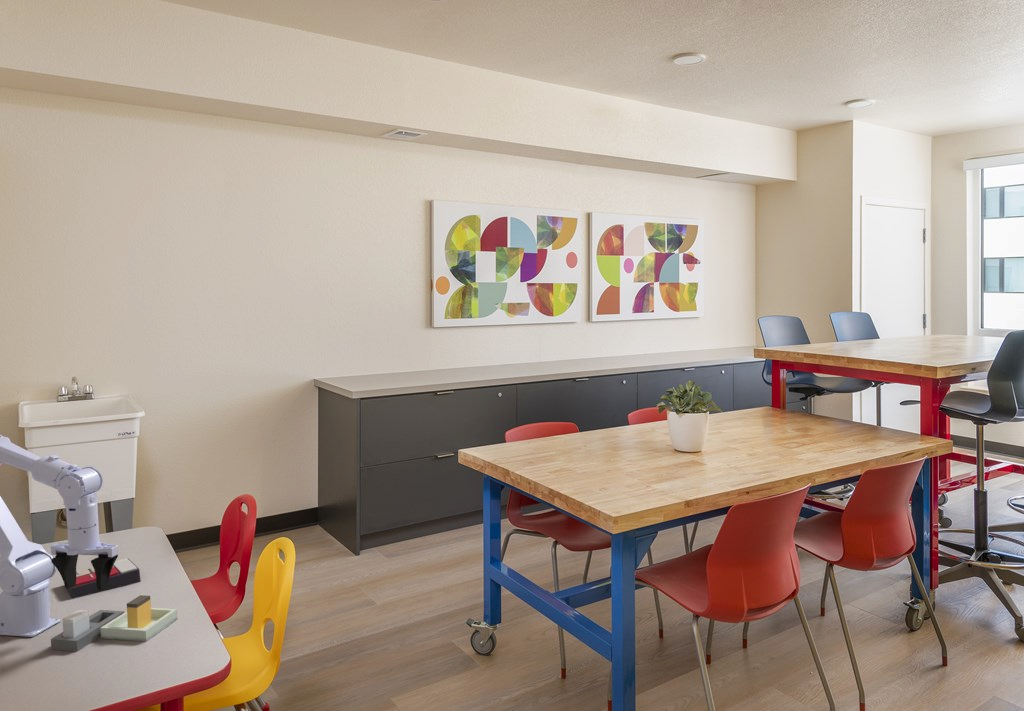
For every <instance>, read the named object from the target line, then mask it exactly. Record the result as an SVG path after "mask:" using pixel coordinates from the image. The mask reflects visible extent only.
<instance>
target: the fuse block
mask: <svg viewBox="0 0 1024 711" xmlns="http://www.w3.org/2000/svg"><path fill="white" fill-rule="evenodd" d="M123 613H125V611H123V610H111V609H110V610H108V609H107V610H106V609H99V610H98V611H96V612H94V613H92V614H91V615H89V624H90V629H88V630H86V631H85V632H83V633H82V634H80V635H78V636H77V637H75V638H65V637H63V631H62V632H59V634H57V635H55V636H53V637H52V638H50V648H51V650H52V651H53V650H54V651H68V652H69V651H70V652H79V651H80V650H82V649H84V648H85V647H86V646H88V645H90V644H91V643H92V642H94V641H96V640H98V639H99V638H101V632H100V628H101V627H102V626H104V625H106V624H107V623H109V622H110V621H112V620H114V619H115V618H117V617H118V616H120V615H122V614H123Z"/></svg>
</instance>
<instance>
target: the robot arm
mask: <svg viewBox="0 0 1024 711" xmlns="http://www.w3.org/2000/svg"><path fill="white" fill-rule="evenodd" d="M2 464H5V465H8V466H12V467H15V468H17V469H20V470H23V471H26V472H29V473H31V478H32V479H33V480H34V481H36V482H38V483H41V484H42V485H45V486H48V487H51V488H52V489H54V490H57V492H58V493H59V496H60V497H61V498H62V500H63V506H64V508H65V510H66V511H65V512H66V526H67V529H66V530H67V542H57V543H54V544H52V545H50V552H47V551H46V550H45V548H44V547H43V545H42V544H40V543H35V542H32V541H29V540H28V539H27V537H26V535H25V534H24V532H23V530H22V529H21V527H20V526H19V524H18V522H17V521H16V519H15V517H14V516H13V514H12V513H11V511H10V509H9V508H8V506H7V504H6V503H5V501H4V499H3V497H1V495H0V589H1V590H2V591H1V593H0V636H13V637H29V638H32V637H33V638H34V637H35V636H37V635H38V634H40V633H42V632H44V631H45V630H47V629H49V628H51V627H53V626H55V625H56V624H58V623H60V622H62V620H61V618H53V617H52V616H51V602H50V600H51V599H50V585H49V584H51V583H52V577H54V576H55V574H56V572H57V571H58V573H59V575H60V576H61V579H62V581H63V585H64V584H65V586H64V587H65V589H66V588H68V589H69V588H71V587H73V586H75V585H76V571H77V565H78V564H77V563H78V558H79V556H80V555H81V556H98V557H95V558H93V559H91V560H90V563H91V565H92V566H93V568H94V571H95V575H96V583H97V588H98V590H102V589H104V588H106V587H107V586H108V581H109V576H110V573H111V570H112V567H113V565H114V563H115V561H117V559H118V557H119V545H118V544H110V543H106V542H102V541H100V528H99V525H100V524H99V506H98V493H97V492H99V491H100V490H101V488H102V487H103V483H104V481H103V476H102V474H101V472H100V471H99V470H98V469H96V468H95V467H93V466H84V467H79V466H78V464H75V463H69V462H67V461H65V460H62V459H60V456H59V455H56V454H52V455H45V456H43V457H41V456H39V455H37V454H35V453H33V452H31V451H29V450H27V449H25V448H23V447H21V446H18V445H17V444H15V443H13V442H11V439H10V438H9V437H7V436H3V435H2V434H0V466H2ZM54 556H55V557H54ZM92 566H91V567H92Z"/></svg>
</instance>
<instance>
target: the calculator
mask: <svg viewBox="0 0 1024 711" xmlns="http://www.w3.org/2000/svg"><path fill="white" fill-rule="evenodd" d="M141 581H142V580H141V573H140V568H139V567H138V566H137V565H136V564H135V563H134V562H133V561H132V560H131V559H130V558H127V557H125V558H121V559H118V560H117V559H116V561H115V563H114V565H113V567H112V570H111V573H110V576H109V581H108V586H107V587H106V588H104V589H102V590H98V588H97V583H96V575H95V571H94V568H93V566H89V567H85V568H82V569H78V570H77V569H76V585H75V586H73V587H71V588H69V589H68V588H66V587H65V584H64V583H63V585H64V587H65V589H66V590H67V592H68V594H69V595H70V596H71V597H72V599H76V598H80V597H85V596H90V595H93V594H97V593H101V592H104V591H108V590H111V589H114V588H118V587H125V586H129V585H133V584H134V585H135V584H137V583H141Z"/></svg>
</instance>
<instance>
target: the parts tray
mask: <svg viewBox="0 0 1024 711" xmlns="http://www.w3.org/2000/svg"><path fill="white" fill-rule="evenodd" d="M177 620H178V608H165V607H163V608H161V607H151V623H150V624H148V625H147V626H145V627H144V628H142V629H139V628H128V620H127V610H126V611H124V613H123V614H122V615H120V616H118V617H117V618H115V619H114V620H112V621H110V622H109V623H107V624H106V625H104V626H102V627H101V628H100V632H101V637H100V639H102V640H103V639H105V640H118V641H119V640H122V641H135V642H148V641H149V640H150V639H152V638H154V637H155V636H156V635H158V634H159V633H160V632H162V631H163V630H165V629H166V628H167V627H168V626H170V625H172V624H173V623H174V622H176V621H177Z"/></svg>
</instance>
